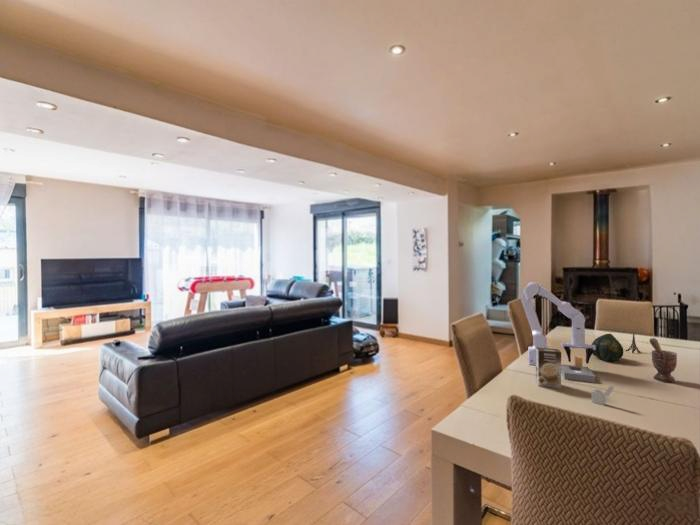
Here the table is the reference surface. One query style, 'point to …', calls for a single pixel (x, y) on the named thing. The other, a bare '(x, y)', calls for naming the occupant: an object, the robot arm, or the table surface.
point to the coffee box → (548, 367)
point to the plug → (577, 361)
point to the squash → (607, 348)
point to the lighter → (600, 395)
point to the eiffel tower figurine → (633, 345)
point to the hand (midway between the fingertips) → (578, 362)
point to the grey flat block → (577, 373)
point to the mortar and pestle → (663, 362)
